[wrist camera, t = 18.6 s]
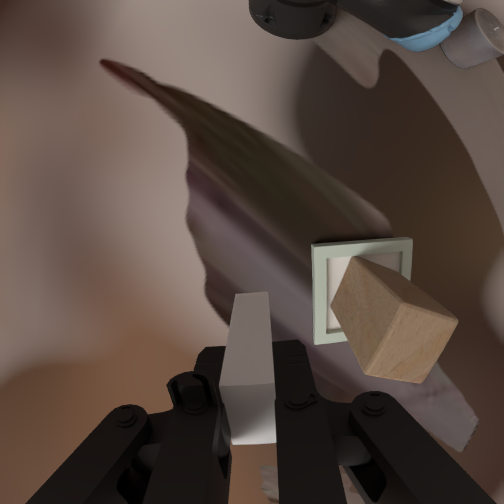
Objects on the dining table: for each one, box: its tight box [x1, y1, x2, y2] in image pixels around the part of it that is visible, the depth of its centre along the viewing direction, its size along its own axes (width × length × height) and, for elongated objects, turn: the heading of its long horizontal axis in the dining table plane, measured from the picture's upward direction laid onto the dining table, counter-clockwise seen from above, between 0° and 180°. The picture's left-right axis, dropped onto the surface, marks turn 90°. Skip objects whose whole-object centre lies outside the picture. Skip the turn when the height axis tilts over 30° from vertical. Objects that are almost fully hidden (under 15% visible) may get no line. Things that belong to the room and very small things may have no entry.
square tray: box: [311, 237, 413, 345], centre depth 49 cm, size 18×18×2 cm
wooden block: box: [330, 256, 458, 383], centre depth 39 cm, size 10×10×20 cm
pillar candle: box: [440, 8, 504, 69], centre depth 30 cm, size 10×10×15 cm
